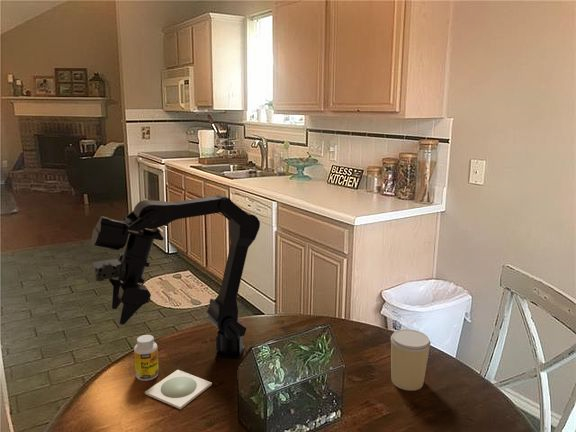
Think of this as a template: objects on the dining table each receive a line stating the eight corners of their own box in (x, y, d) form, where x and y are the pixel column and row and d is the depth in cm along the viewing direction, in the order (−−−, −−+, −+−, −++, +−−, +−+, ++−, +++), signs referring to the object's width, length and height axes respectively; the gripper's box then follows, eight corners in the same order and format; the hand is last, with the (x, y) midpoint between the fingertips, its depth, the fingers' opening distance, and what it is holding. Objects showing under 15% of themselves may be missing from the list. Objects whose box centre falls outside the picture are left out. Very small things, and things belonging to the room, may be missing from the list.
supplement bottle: (139, 384, 115) (137, 346, 112) (133, 373, 119) (130, 336, 117) (162, 377, 118) (160, 340, 115) (155, 367, 122) (152, 330, 120)
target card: (177, 371, 120) (177, 369, 120) (211, 384, 115) (211, 382, 115) (145, 394, 111) (144, 391, 111) (180, 409, 105) (180, 406, 105)
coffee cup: (429, 376, 119) (433, 333, 116) (423, 396, 111) (427, 350, 108) (392, 367, 123) (395, 325, 120) (383, 386, 115) (387, 341, 112)
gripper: (94, 236, 114) (76, 297, 115) (109, 259, 98) (88, 329, 99) (139, 245, 120) (122, 303, 121) (160, 268, 104) (139, 334, 105)
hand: (117, 316), depth 111 cm, fingers open, 9 cm apart
